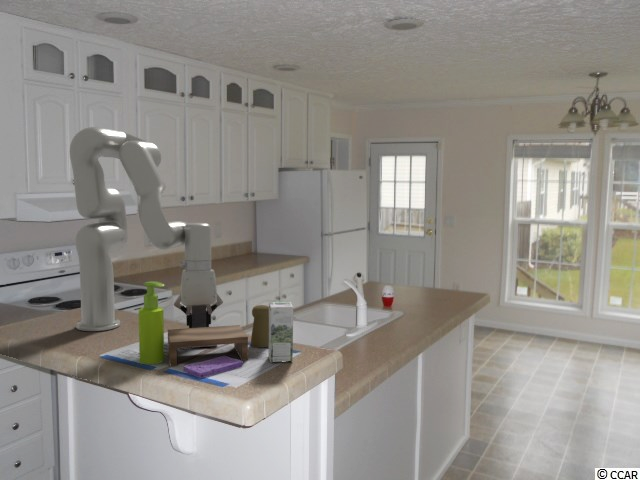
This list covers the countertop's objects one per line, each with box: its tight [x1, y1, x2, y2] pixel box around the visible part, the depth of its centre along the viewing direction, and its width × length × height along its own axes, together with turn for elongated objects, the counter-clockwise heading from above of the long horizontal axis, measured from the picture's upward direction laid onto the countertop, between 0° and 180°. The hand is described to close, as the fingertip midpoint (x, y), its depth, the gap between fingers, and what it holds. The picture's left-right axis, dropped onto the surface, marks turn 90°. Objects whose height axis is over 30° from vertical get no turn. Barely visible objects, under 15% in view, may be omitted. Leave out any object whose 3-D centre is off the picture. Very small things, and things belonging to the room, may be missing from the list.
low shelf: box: [167, 324, 249, 367], centre depth 146 cm, size 12×19×6 cm, turn 108°
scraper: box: [190, 305, 218, 349], centre depth 161 cm, size 16×7×9 cm, turn 18°
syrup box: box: [268, 301, 294, 364], centre depth 144 cm, size 6×6×14 cm
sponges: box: [182, 355, 244, 379], centre depth 137 cm, size 7×13×2 cm, turn 137°
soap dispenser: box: [138, 281, 166, 365], centre depth 141 cm, size 6×7×20 cm
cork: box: [250, 304, 269, 348], centre depth 157 cm, size 6×6×11 cm
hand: (198, 326), depth 166 cm, fingers open, 4 cm apart
